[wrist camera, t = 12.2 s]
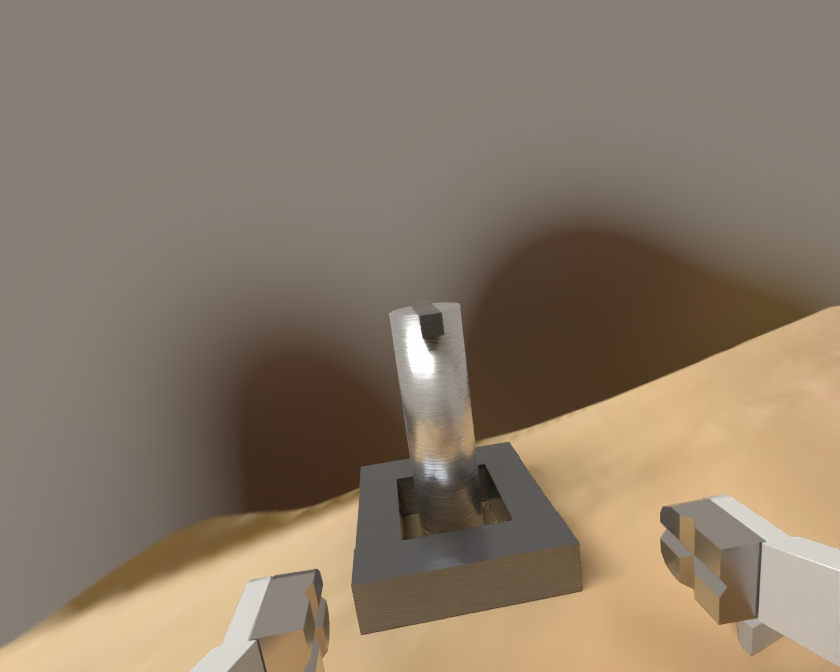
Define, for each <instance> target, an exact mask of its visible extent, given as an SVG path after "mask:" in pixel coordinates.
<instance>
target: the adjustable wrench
mask: <svg viewBox="0 0 840 672" xmlns="http://www.w3.org/2000/svg"><path fill="white" fill-rule="evenodd" d="M737 630H738V638H739V643H740V644H741V646H742V647H743V649H744V650H746V651H747V652H748V653H749V654H750V655H751V656H752V655H754V654H755V653H757V652H759V651H760V650H762V649H763V648H765V647H767V646H768V645H770V644H771V643H773V642H774V641H776V640H778V639H779V638H781V637H782V636H784V635H782V634H781V633H779V632H777V631H775V630H774V629H772V628H770V627H768V626H767V625H765V624H763V623H761V622H760V621H758V618H757V619H751V620H745V621H739V622H737Z"/></svg>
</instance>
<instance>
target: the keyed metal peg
mask: <svg viewBox="0 0 840 672" xmlns="http://www.w3.org/2000/svg"><path fill="white" fill-rule="evenodd" d="M410 304H411V306H410V307H405V308H401V309H397V310H395V311H392V312H390V314H389V315H390V322H391V328H392V336H393V342H394V349H395V356H396V363H397V370H398V376H399V383H400V390H401V397H402V404H403V410H404V418H405V423H406V431H407V438H408V445H409V452H410V458H411V465H412V472H413V479H414V486H415V493H416V499H417V506H418V513H419V520H420V527H421V533H422V537H424V536H430V535H435V534H440V533H446V532H451V531H457V530H462V529H468V528H473V527H479V526H484V521H483V512H482V503H481V494H480V485H479V475H478V466H477V457H476V448H475V439H474V431H473V421H472V412H471V403H470V394H469V385H468V376H467V367H466V357H465V348H464V339H463V330H462V321H461V313H460V304H458V303H431V302H430V301H429V300H425V301H418V302H411V303H410Z"/></svg>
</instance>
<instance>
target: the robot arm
mask: <svg viewBox="0 0 840 672" xmlns="http://www.w3.org/2000/svg"><path fill="white" fill-rule="evenodd" d="M660 522H661V523H662V524H663V526H664V527H665V528H666V530H665V532H664V534H663V535H662V537H661V538H660V541H661V552H662V555H663V558H664V561H665V564H666V565H667V567H668V568H669V570H670V572H671V573H672V574H673V576H674V577H675V578H676V579H677V580H678V581H679V582H680V583H682V584H684V585H686V586H688V587H690V588H692V589H694V598H695V600H696V601H697V602H698V603H699V604H700V605H701V606H702V607H703V608H704V609H705V610H706V612H707V613H708V614H709V615H710V616H711V617H712V618H713V619H714V620H715V621H716V622H717V623H718V624H719V625H721V624H727V623H733V622H739V621H745V620H751V619H757V618H758V621H760V622H761V623H763V624H765V625H767V626H768V627H770V628H772V629H774V630H775V631H777V632H779V633H781V634H782V635H784V636H786V637H788V638H789V639H791V640H793V641H794V642H796V643H798V644H800V645H801V646H803V647H805V648H807V649H808V650H810V651H812V652H814V653H815V654H817V655H819V656H821V657H822V658H824V659H826V660H827V661H829V662H831V663H833V664H834V665H836V666H838V667H840V550H839V549H836V548H833V547H830V546H827V545H824V544H821V543H817V542H814V541H811V540H808V539H805V538H802V537H799V536H796V537H790V536H788V535H787V534H786V533H784V532H783V531H781V530H780V529H778V528H777V527H775V526H774V525H772V524H771V523H769V522H768V521H766V520H765V519H763V518H762V517H760V516H759V515H758V514H756V513H755V512H753V511H752V510H750V509H749V508H747V507H746V506H744V505H743V504H741V503H740V502H738V501H737V500H735V499H734V498H733V497H731V496H728V495H725V494H721V495H716V496H711V497H706V498H703V499H700V500H694V501H689V502H684V503H678V504H673V505H668V506H663V507H662V510H661V512H660ZM322 586H323V582H322V578H321V574H320V571H319V570H318V569H313V570H307V571H300V572H294V573H288V574H281V575H275V576H273V577H272V576H270V577H264V578H258V579H252V580H250V581H249V582H248V583H247V584H246V586H245V588H244V591H243V593H242V596H241V598H240V601H239V603H238V606H237V608H236V610H235V613H234V615H233V618H232V620H231V623H230V625H229V628H228V630H227V632H226V635H225V637H224V640H223V642H222V645H221V647H216V648H213V649H212V650H211V651H210V652H209V653H208V654H207V655H206V656H205V657H204V658H203V659H202V660H201V661H200V662H198V663H197V664H196V665H195V666H194V667H193V668H192V669H191V670H190V671H189V672H325V670H324V665H323V660H322V658H323V657H324V656H325V654H326V653H327V652H328V645H329V613H328V607H327V602H326V600H325V599H323V598H322V597H321V593H322Z"/></svg>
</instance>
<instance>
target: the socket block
mask: <svg viewBox="0 0 840 672" xmlns="http://www.w3.org/2000/svg"><path fill="white" fill-rule="evenodd" d="M476 457H477V466H478V475H479V485H480V494H481V501H484V500H489V502H490V504H491V506H492V509H493V511H494V513H495V515H496V517H497V520H498V522H499V523H495V524H489V525H484V526H479V527H473V528H468V529H462V530H457V531H451V532H446V533H440V534H435V535H430V536H424V537H419V538H413V539H408V540H404V530H403V519H402V515H406V514H411V513H417V512H418V506H417V499H416V493H415V486H414V479H413V472H412V465H411V459H405V460H399V461H393V462H388V463H382V464H376V465H370V466H364V467H361V475H360V497H359V510H358V523H357V535H356V548H355V549H354V560H353V572H352V584H351V587H352V592H353V597H354V602H355V607H356V612H357V618H358V623H359V628H360V633H361V634H366V633H372V632H377V631H382V630H387V629H392V628H397V627H402V626H407V625H412V624H417V623H422V622H427V621H432V620H437V619H442V618H447V617H452V616H457V615H462V614H467V613H472V612H477V611H482V610H487V609H492V608H497V607H502V606H507V605H513V604H518V603H523V602H528V601H533V600H538V599H543V598H548V597H553V596H558V595H563V594H568V593H573V592H578V591H582V585H581V567H580V550H579V542H578V540H577V539H576V538H575V536H574V535H573V533H572V532H571V530H570V529H569V527H568V526H567V525H566V523H565V522H564V520H563V519H562V517H561V516H560V515H559V513H558V512H556V510H555V509H554V507H553V506H552V505H551V503H550V502H549V500H548V499H547V497H546V496H545V494H544V493H543V492H542V490H541V489H540V487H539V486H538V484H537V483H536V481H535V480H534V478H533V477H532V476H531V474H530V473H529V471H528V470H527V468H526V467H525V465H524V464H523V463H522V461H521V460H520V457H519V455H518V454H517V453H516V451H515V450H514V448H513V447H512V445H511V444H510V443H509V442H505V443H499V444H493V445H487V446H482V447H476Z"/></svg>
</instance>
